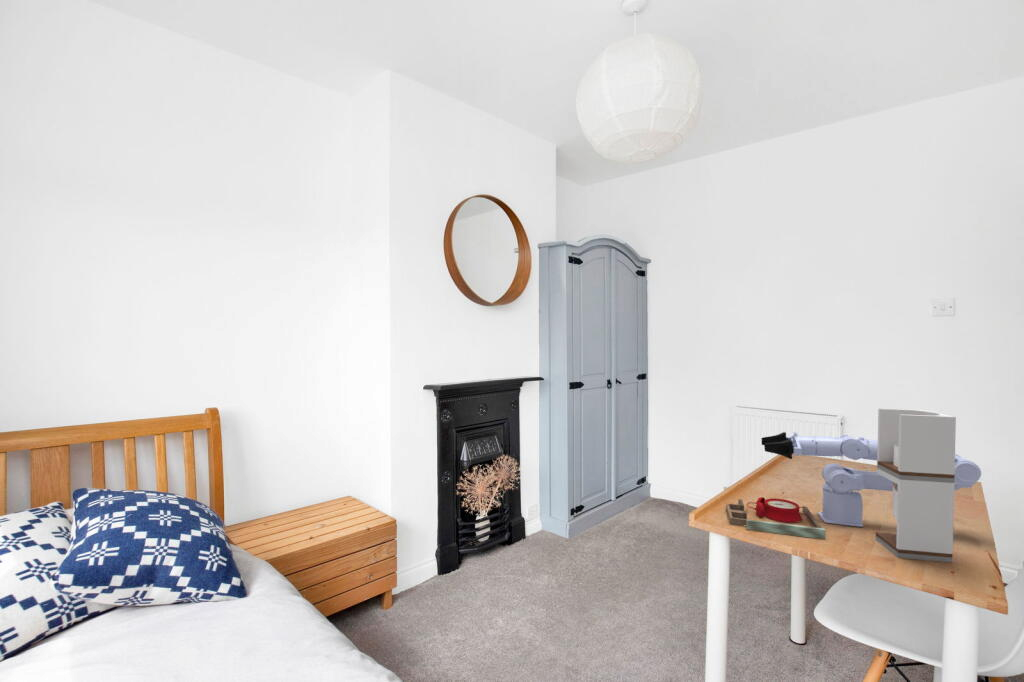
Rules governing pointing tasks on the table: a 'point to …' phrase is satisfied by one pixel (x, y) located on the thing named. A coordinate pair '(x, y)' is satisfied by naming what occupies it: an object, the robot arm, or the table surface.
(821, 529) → the wall
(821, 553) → the table surface
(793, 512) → the alarm clock
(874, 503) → the table surface
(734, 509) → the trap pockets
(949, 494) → the display case
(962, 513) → the table surface
